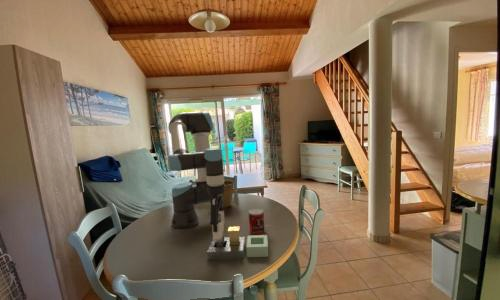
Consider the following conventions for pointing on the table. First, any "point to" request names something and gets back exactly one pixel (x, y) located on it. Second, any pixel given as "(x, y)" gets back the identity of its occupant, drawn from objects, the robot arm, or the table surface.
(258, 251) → the pale green box
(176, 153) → the robot arm
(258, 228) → the canned food
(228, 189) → the plant pot
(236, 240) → the tan rectangular block
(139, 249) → the table surface
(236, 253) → the socket block
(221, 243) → the white tall bar
